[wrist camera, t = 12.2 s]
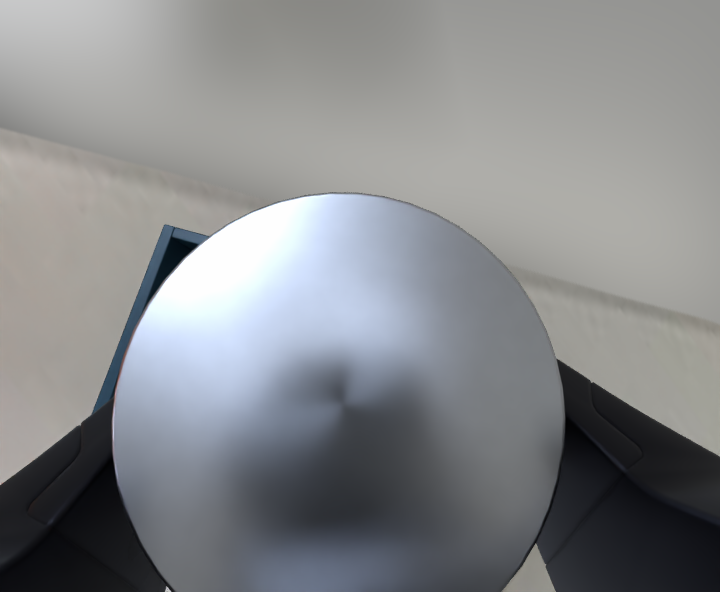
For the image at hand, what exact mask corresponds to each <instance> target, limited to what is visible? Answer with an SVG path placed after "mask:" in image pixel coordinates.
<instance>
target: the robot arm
mask: <svg viewBox="0 0 720 592" xmlns="http://www.w3.org/2000/svg"><path fill="white" fill-rule="evenodd" d="M556 359H557V358H556ZM557 364H558V368H559V373H560V377H561V382H562V387H563V396H564V407H565V417H566V418H565V449H564V455H563V462H562V468H561V475H560V480H559V484H558V487H557V491H556V494H555V497H554V501H553V504H552V508H551V511H550V513H549V515H548V518H547V520H546V522H545V524H544V527H543V529H542V531H541V534H540V536H539V538H538V540H537V542H536V544H537V546H538V549H539V551H540V554H541V556H542V559H543V561H544V563H545V564H547V565H546V569H547V571H548V574H549V576H550V579H551V581H552V583H553V586H554V588H555V591H556V592H720V457H719V456H718V455H716V454H714V453H712V452H711V451H709V450H707V449H705V448H703V447H702V446H700V445H698V444H696V443H695V442H693V441H691V440H689V439H687V438H686V437H684V436H682V435H680V434H679V433H677V432H675V431H673V430H672V429H670V428H668V427H666V426H664V425H663V424H661V423H659V422H657V421H656V420H654V419H652V418H650V417H649V416H647V415H645V414H644V413H642V412H640V411H638V410H637V409H635V408H633V407H632V406H630V405H628V404H627V403H625V402H624V401H622V400H620V399H619V398H617V397H616V396H614V395H612V394H611V393H609V392H608V391H606V390H605V389H603V388H601V387H600V386H598V385H597V384H595V383H593V382H592V383H591V381H590V380H589V379H587V378H586V377H584V376H583V375H581V374H580V373H578V372H577V371H575V370H573V369H572V368H570V367H569V366H567V365H566V364H564V363H563V362H561V361H560V360H558V359H557ZM113 404H114V397H113V398H111V399H110V400H109V401H108V402H107V403H105V404H104V405H103V406H102V407H100V408H99V409H98V410H97V411H95V412H94V413H93V414H92V415H90V416H89V417H88V418H87V419H86V420H84V421H83V422H82V423H81V426H80V425H79V426H77V427H76V428H74V429H73V430H72V431H71V432H69V433H68V434H67V435H66V436H64V437H63V438H62V439H61V440H59V441H58V442H57V443H56V444H54V445H53V446H52V447H50V448H49V449H48V450H47V451H45V452H44V453H43V454H42V455H40V456H39V457H38V458H36V459H35V460H34V461H32V462H31V463H30V464H28V465H27V466H26V467H24V468H23V469H22V470H20V471H19V472H18V473H16V474H15V475H13V476H12V477H11V478H9V479H8V480H7V481H5V482H4V483H3V484H1V485H0V592H165V590H166V584H165V583H164V582H163V581H162V580H161V578H160V577H159V576H158V575H157V574H156V572H155V570H154V569H153V567H152V566H151V564H150V562H149V561H148V559H147V558H146V556H145V554H144V553H143V551H142V550H141V548H140V546H139V544H138V542H137V540H136V538H135V535H134V533H133V531H132V528H131V526H130V524H129V522H128V519H127V517H126V515H125V511H124V508H123V504H122V501H121V497H120V494H119V490H118V487H117V482H116V475H115V469H114V462H113V455H112V413H113Z"/></svg>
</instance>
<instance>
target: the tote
mask: <svg viewBox="0 0 720 592" xmlns="http://www.w3.org/2000/svg"><path fill="white" fill-rule="evenodd" d="M208 237H209V236H206V235H202V234H199V233H195V232H191V231H188V230H184V229H180V228H175V227H173V226H169V225H164V227H163V229H162V232H161V235H160V237H159V240H158V242H157V245H156V248H155V250H154V253H153V256H152V258H151V261H150V263H149V266H148V269H147V271H146V274H145V276H144V279H143V282H142V284H141V287H140V289H139V292H138V295H137V297H136V300H135V302H134V305H133V308H132V310H131V313H130V316H129V318H128V321H127V323H126V326H125V329H124V331H123V334H122V336H121V339H120V342H119V344H118V347H117V349H116V352H115V355H114V357H113V360H112V363H111V365H110V368H109V370H108V373H107V376H106V378H105V381H104V383H103V386H102V389H101V391H100V394H99V396H98V399H97V402H96V404H95V407H94V410H93V412H92V414H93V413H94V412H95V411H97V410H98V409H99V408H100V407H102V406H103V405H104V404H105V403H107V402H108V401H109V400H110V399H111V398H113V397H114V395H115V388H116V384H117V380H118V375H119V371H120V367H121V363H122V359H123V356H124V354H125V351H126V349H127V346H128V343H129V341H130V338H131V335H132V333H133V330H134V328H135V326H136V325H137V323H138V321H139V319H140V317H141V315H142V313H143V311H144V309H145V308H146V306H147V304H148V302H149V301H150V300H151V298H152V297H153V295H154V294H155V292H156V291H157V289H158V288H159V287H160V285H161V284H162V282H163V281H164V280H165V278H166V277H167V276H168V275H169V274H170V273H171V272H172V271H173V269H174V268H175V267H176V266H177V265H178V264H179V263H180V262H181V261H182V259H183V258H184V257H186V256H187V255H188V254H189V253H190V252H191V251H192V250H194V249H195V248H196V247H197V246H198V245H199V244H200V243H202V242H203V241H204V240H205V239H206V238H208Z"/></svg>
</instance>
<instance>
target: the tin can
mask: <svg viewBox="0 0 720 592" xmlns="http://www.w3.org/2000/svg"><path fill="white" fill-rule="evenodd" d="M565 418H566V417H565V407H564V396H563V387H562V382H561V377H560V373H559V368H558V364H557V359H556V356H555V353H554V350H553V348H552V345H551V342H550V339H549V336H548V333H547V331H546V329H545V327H544V325H543V323H542V321H541V319H540V317H539V315H538V313H537V310H536V308H535V306H534V305H533V303H532V302H531V300H530V299H529V297H528V296H527V294H526V292H525V291H524V289H523V288H522V286H521V285H520V283H519V282H518V281H517V279H516V278H515V277H514V276H513V275H512V274H511V272H510V271H509V270H508V269H507V268H506V266H505V265H504V264H503V263H502V262H501V261H500V260H499V259H498V258H497V257H496V256H495V255H494V254H493V253H492V252H491V251H489V249H488V248H486V247H485V246H484V245H483V244H482V243H481V242H479V241H478V240H477V239H476V238H474V237H473V236H472V235H470V234H468V233H467V232H466V231H465V230H463V229H462V228H460V227H459V226H457V225H455V224H453V223H452V222H450V221H448V220H447V219H444V218H443V217H441V216H439V215H437V214H436V213H433V212H431V211H428V210H426V209H423V208H421V207H418V206H416V205H413V204H411V203H407V202H403V201H400V200H396V199H392V198H388V197H385V196H377V195H370V194H362V193H336V192H334V193H333V192H332V193H322V194H313V195H304V196H300V197H296V198H292V199H287V200H283V201H279V202H276V203H273V204H271V205H268V206H265V207H262V208H260V209H257V210H254V211H252V212H250V213H248V214H246V215H244V216H242V217H240V218H238V219H236V220H234V221H232V222H231V223H229V224H227V225H226V226H224V227H223V228H221V229H220V230H218V231H217V232H215V233H214V234H212V235H211V236H209V237H208V238H206V239H205V240H204V241H203V242H202V243H200V244H199V245H198V246H197V247H196V248H195V249H194V250H192V251H191V252H190V253H189V254H188V255H187V256H186V257H184V258H183V259H182V261H181V262H180V263H179V264H178V265H177V266H176V267H175V268H174V269H173V271H172V272H171V273H170V274H169V275H168V276H167V277H166V278H165V280H164V281H163V282H162V284H161V285H160V287H159V288H158V289H157V291H156V292H155V294H154V295H153V297H152V298H151V300H150V301H149V302H148V304H147V306H146V308H145V309H144V311H143V313H142V315H141V317H140V319H139V321H138V323H137V325H136V326H135V328H134V330H133V333H132V335H131V338H130V341H129V343H128V346H127V349H126V351H125V354H124V356H123V359H122V363H121V367H120V371H119V375H118V380H117V384H116V388H115V395H114V404H113V413H112V455H113V462H114V469H115V475H116V482H117V487H118V490H119V494H120V497H121V501H122V504H123V508H124V511H125V515H126V517H127V519H128V522H129V524H130V526H131V528H132V531H133V533H134V535H135V538H136V540H137V542H138V544H139V546H140V548H141V550H142V551H143V553H144V554H145V556H146V558H147V559H148V561H149V562H150V564H151V566H152V567H153V569H154V570H155V572H156V574H157V575H158V576H159V577H160V578H161V580H162V581H163V582H164V583H165V584H166V586H167V587H168V588H169V589H170V590H171V592H502V590H503V589H504V588H505V587H506V585H507V584H508V583H509V582H510V580H511V579H512V578H513V577H514V575H515V574H516V573H517V572H518V570H519V569H520V568H521V566H522V565H523V563H524V562H525V560H526V558H527V557H528V555H529V553H530V552H531V550H532V548H533V547H534V545H535V543H536V542H537V540H538V538H539V536H540V534H541V531H542V529H543V527H544V524H545V522H546V520H547V518H548V515H549V513H550V511H551V508H552V504H553V501H554V497H555V494H556V491H557V487H558V484H559V480H560V475H561V468H562V462H563V455H564V449H565Z"/></svg>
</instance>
